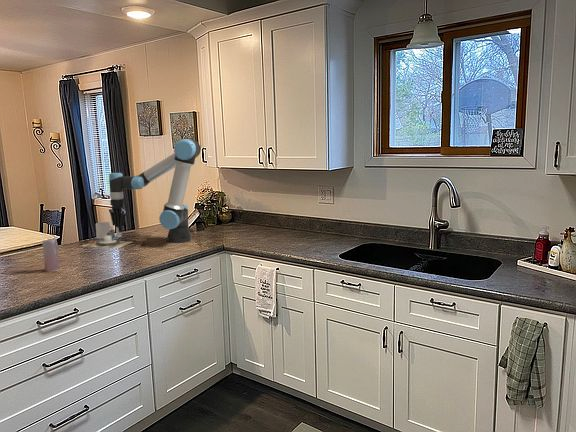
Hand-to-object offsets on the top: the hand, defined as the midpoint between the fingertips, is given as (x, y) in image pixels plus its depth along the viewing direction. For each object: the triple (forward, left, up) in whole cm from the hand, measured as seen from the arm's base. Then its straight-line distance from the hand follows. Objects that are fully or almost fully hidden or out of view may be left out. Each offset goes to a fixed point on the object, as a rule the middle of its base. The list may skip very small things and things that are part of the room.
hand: (119, 237), depth 266 cm
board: (+4, +6, -4) cm, 8 cm away
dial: (+5, +3, -3) cm, 6 cm away
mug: (+16, -11, -5) cm, 20 cm away
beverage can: (+1, +57, -5) cm, 58 cm away
